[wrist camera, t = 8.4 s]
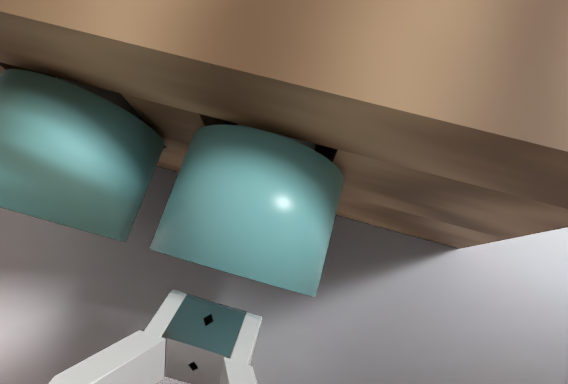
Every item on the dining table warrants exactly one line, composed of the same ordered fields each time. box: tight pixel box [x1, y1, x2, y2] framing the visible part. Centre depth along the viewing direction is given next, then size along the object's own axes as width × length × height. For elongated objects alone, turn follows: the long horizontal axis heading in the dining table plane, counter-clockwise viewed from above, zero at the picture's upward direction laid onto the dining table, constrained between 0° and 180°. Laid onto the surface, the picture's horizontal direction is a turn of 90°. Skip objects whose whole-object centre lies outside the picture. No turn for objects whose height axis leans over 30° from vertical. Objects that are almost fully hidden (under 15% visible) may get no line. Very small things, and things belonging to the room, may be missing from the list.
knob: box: [150, 124, 344, 297], centre depth 13 cm, size 6×14×6 cm, turn 164°
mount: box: [0, 0, 568, 249], centre depth 14 cm, size 20×15×11 cm
